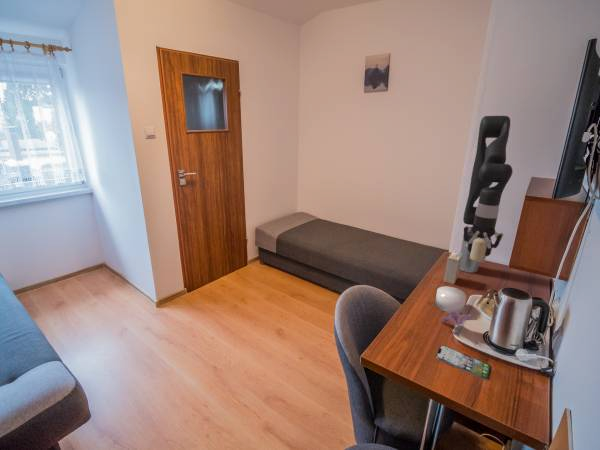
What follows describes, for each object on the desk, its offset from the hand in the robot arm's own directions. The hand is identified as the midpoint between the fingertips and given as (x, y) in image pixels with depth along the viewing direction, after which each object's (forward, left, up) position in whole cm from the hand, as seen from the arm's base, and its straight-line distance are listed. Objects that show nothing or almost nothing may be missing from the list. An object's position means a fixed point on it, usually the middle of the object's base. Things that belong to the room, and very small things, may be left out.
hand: (478, 253), depth 124 cm
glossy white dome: (+12, -5, -21) cm, 25 cm away
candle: (0, 0, -3) cm, 3 cm away
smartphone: (+42, +8, -22) cm, 48 cm away
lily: (+26, +1, -22) cm, 34 cm away
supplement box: (-11, -11, -22) cm, 27 cm away
